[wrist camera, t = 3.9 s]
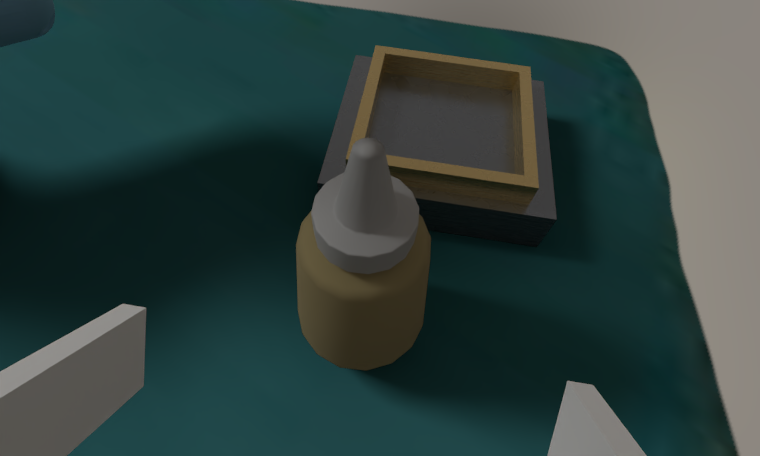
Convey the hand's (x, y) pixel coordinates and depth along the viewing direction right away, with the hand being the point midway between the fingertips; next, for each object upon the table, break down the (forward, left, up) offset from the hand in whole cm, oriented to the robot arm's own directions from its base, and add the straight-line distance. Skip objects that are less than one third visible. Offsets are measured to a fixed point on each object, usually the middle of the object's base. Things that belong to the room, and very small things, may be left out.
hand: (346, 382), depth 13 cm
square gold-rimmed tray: (+3, +24, -15) cm, 29 cm away
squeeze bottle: (-1, +7, -16) cm, 17 cm away
